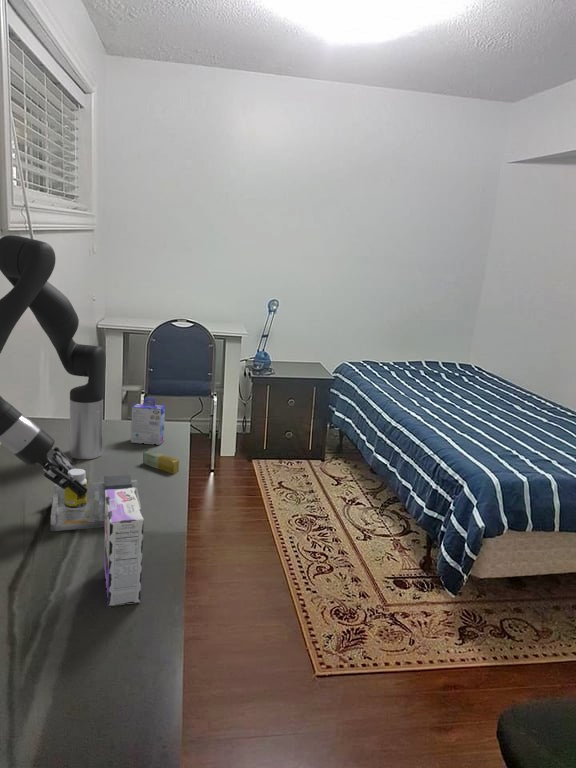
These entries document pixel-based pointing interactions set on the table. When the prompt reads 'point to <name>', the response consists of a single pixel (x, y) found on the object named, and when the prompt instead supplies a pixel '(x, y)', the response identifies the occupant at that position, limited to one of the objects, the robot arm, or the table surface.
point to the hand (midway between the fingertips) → (84, 488)
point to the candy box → (123, 546)
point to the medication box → (161, 461)
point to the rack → (87, 504)
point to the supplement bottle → (73, 499)
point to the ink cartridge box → (147, 423)
